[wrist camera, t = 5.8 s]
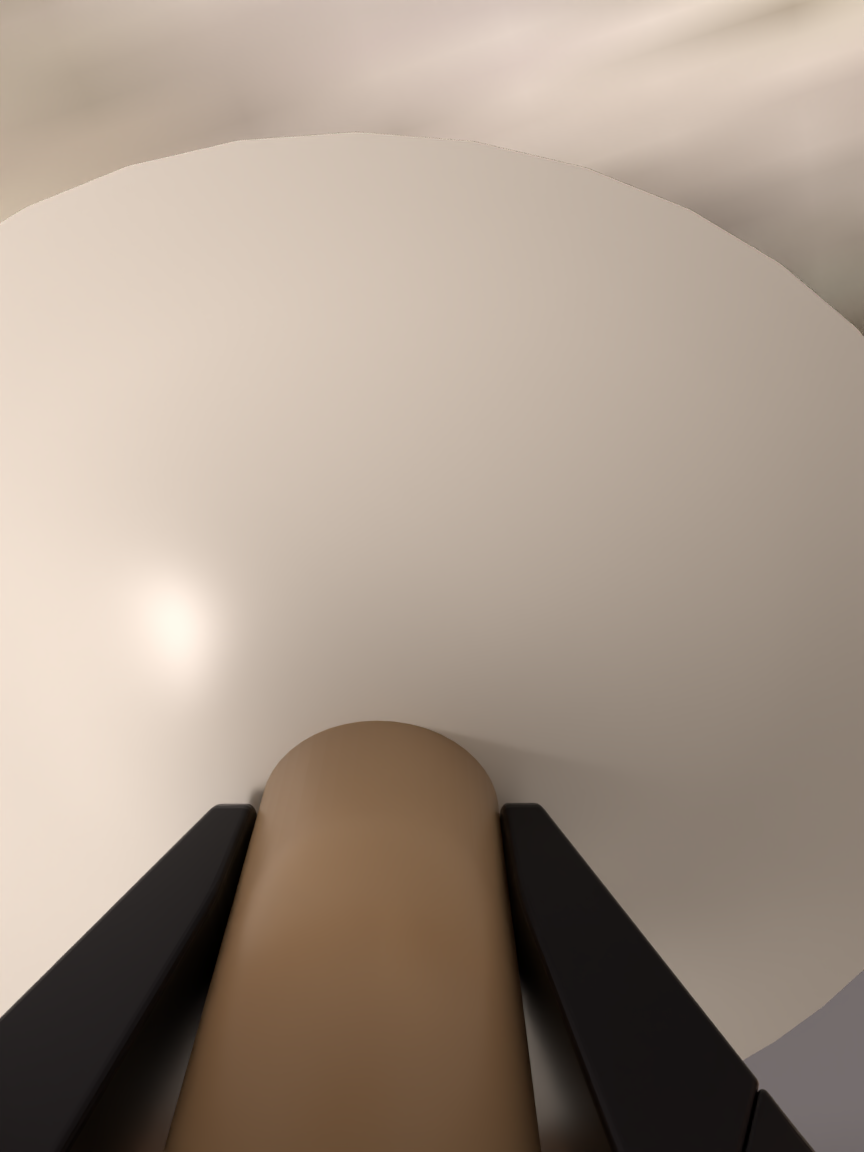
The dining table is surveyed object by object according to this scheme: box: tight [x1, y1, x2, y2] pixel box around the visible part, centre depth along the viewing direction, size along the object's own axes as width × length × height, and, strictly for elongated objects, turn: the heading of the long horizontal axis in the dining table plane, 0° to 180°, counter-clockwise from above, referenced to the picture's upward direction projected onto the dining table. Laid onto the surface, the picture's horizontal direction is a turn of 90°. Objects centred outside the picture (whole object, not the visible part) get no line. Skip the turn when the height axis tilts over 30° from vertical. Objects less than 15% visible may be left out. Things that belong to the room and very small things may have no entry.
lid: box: [0, 132, 864, 1152], centre depth 7 cm, size 13×13×5 cm
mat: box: [743, 970, 864, 1152], centre depth 21 cm, size 14×14×1 cm
